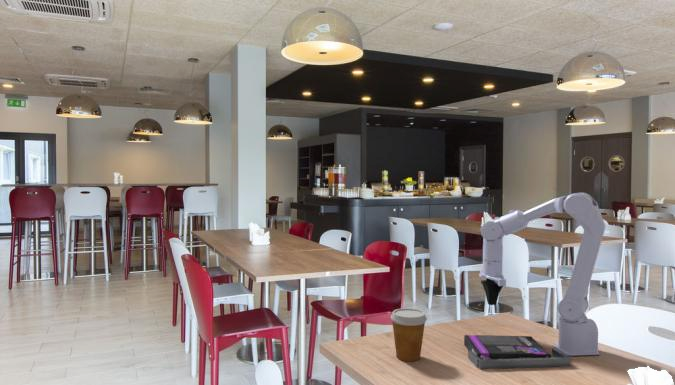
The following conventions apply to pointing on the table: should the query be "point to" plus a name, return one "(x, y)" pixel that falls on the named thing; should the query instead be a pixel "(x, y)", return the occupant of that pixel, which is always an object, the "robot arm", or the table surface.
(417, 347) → the disposable coffee cup
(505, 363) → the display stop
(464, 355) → the table surface
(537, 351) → the box
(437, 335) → the table surface
